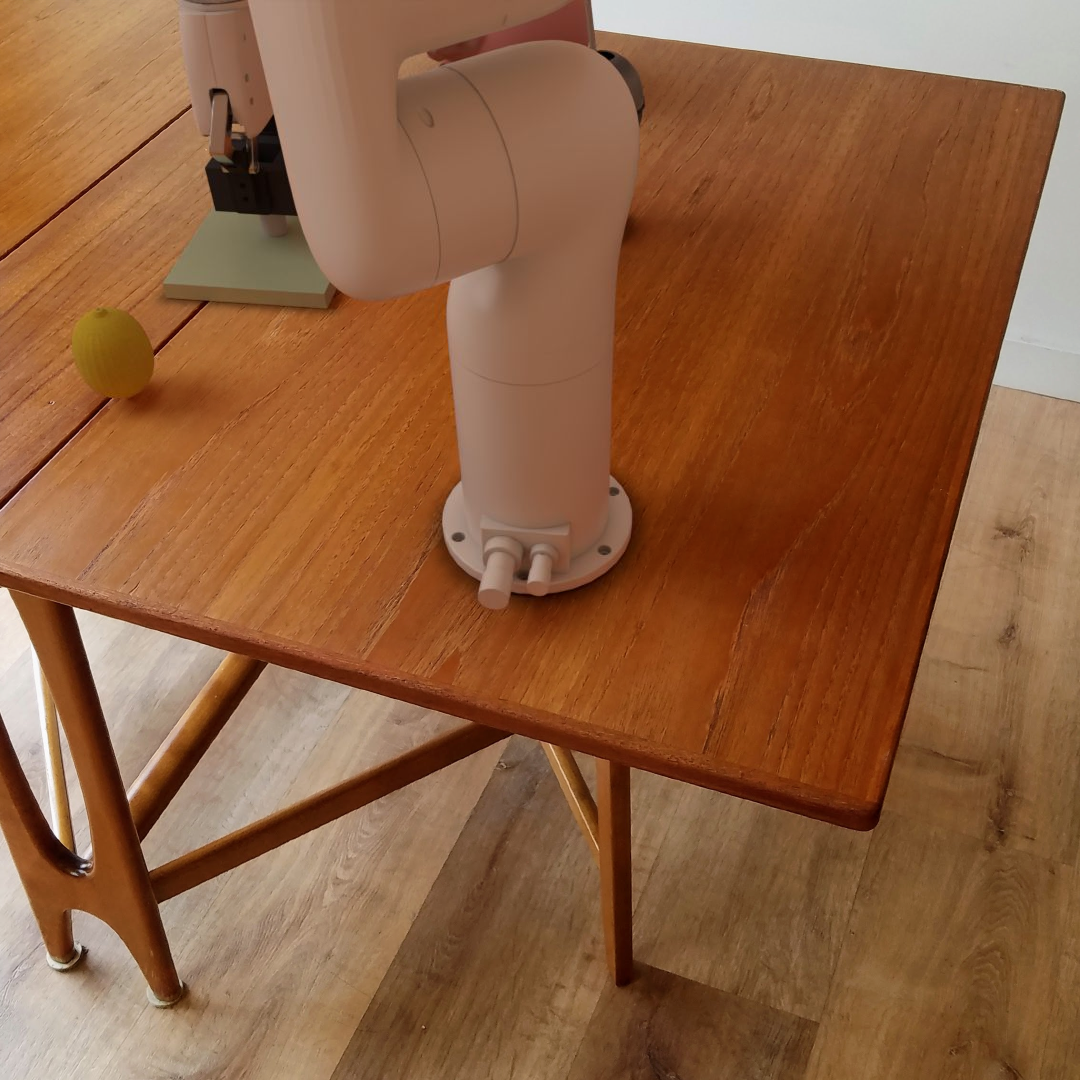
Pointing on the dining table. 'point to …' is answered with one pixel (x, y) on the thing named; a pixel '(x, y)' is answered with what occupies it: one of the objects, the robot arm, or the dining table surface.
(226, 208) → the black hollow block
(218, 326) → the dining table surface
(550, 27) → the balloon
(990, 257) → the dining table surface
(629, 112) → the robot arm
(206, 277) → the base pad
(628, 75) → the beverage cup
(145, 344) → the lemon
